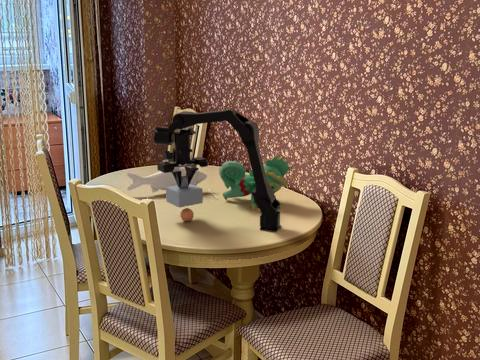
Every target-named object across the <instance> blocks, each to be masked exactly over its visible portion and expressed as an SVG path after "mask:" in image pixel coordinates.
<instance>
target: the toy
mask: <svg viewBox="0 0 480 360" xmlns="http://www.w3.org/2000/svg"><path fill="white" fill-rule="evenodd" d="M289 163H290V161H289V160H285V159H284V156H281V157H279V158H278V156H277V155H274V156H273V157H272V158H271V159H270V158H267V159H266V162H265V163H263V166H264V170H265V174H266V178H267V182H268V184H269V185H270V187H271V188H272V190H273V192H274V195H275V198H276V199H277V197H276V193H277V192H279V191H280V190H281V189H282V187H286V186H287V187H288V186H290V184H289V183H288V181H287V180H285V179H283V177H285V175H287V173H288V172H289V171H290V170H291V169H292V168H293V167H292V166H291V165H289ZM218 171H219V173H218V174H219V176H220V179H221V180H222V182H223V184H224V186H225V188H226V189H227V191H224V192H222V197H223V198H224V200H225V201H227V200H228V199H233V198H234V199H235V198H243V197H247V196H249V195H250V200H251V201H250V202H251V204H250V205H251V208H252V210H253V211H255V210H256V207H257V205H256V203H255V204H254V197H253V195H252V192H253V191H254V190H255V189H256V184H255V180H254V176H253V172H252V170H251V169H250V168H249V171H248V173H249V174H246V173H247V170H246V168H245V166H244V165H243V164H242V163H240V162H238V161H236V160H235V161H233V160H228V161H226V162H224V163H223V164H221V166H220V167H219V169H218Z"/></svg>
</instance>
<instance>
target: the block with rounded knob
mask: <svg viewBox="0 0 480 360" xmlns="http://www.w3.org/2000/svg"><path fill="white" fill-rule="evenodd" d="M202 189H203V187H200V186H198V185H196V186H195V185H192V184H189V186H188V176H181V187H180V188H179V187H178V185H176V186H170V187H166V190H165V198H166V203H169V204H170V205H172V206H175V207H178V208H185V207H189V206H194V205H200V204H203V203H204V202H203V190H202Z"/></svg>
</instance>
